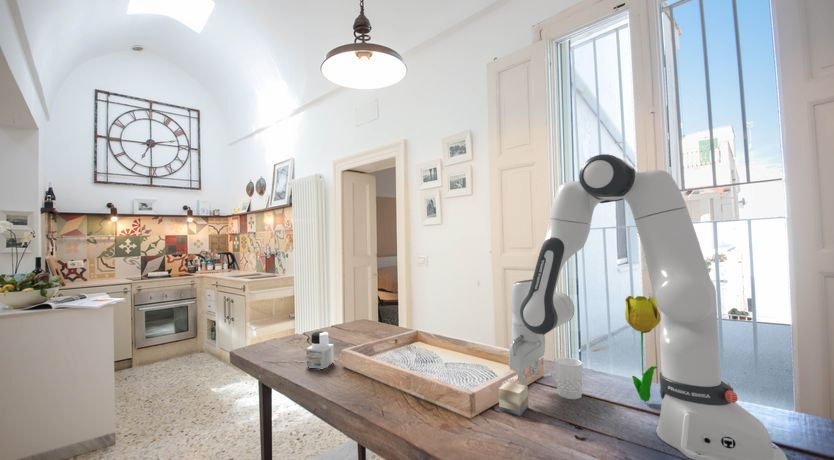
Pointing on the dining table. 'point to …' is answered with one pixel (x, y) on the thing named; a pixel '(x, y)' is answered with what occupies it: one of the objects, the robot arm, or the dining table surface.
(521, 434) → the dining table surface
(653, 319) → the flower
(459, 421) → the dining table surface
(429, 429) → the dining table surface
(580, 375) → the white cup
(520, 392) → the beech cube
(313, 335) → the container
